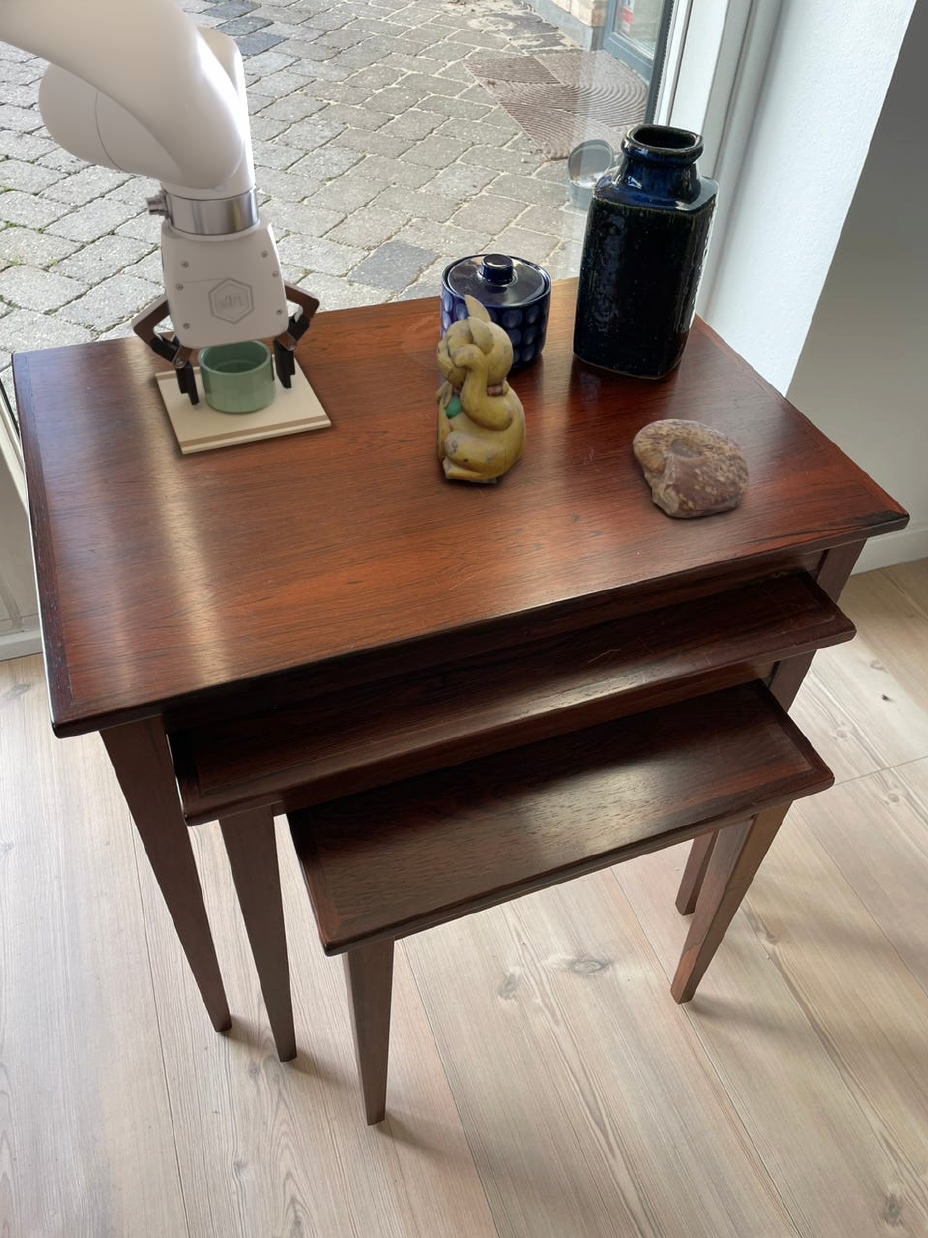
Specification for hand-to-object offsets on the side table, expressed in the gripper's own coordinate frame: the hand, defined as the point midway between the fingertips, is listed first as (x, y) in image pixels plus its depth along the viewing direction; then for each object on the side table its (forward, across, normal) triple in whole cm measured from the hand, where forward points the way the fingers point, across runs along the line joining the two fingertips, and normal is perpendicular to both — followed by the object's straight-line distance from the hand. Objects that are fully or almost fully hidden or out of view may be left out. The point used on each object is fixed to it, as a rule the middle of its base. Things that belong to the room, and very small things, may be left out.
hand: (239, 388), depth 87 cm
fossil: (+2, +35, -26) cm, 44 cm away
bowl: (+1, 0, 0) cm, 1 cm away
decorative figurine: (+2, +18, -17) cm, 25 cm away
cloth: (+1, 0, 0) cm, 1 cm away
